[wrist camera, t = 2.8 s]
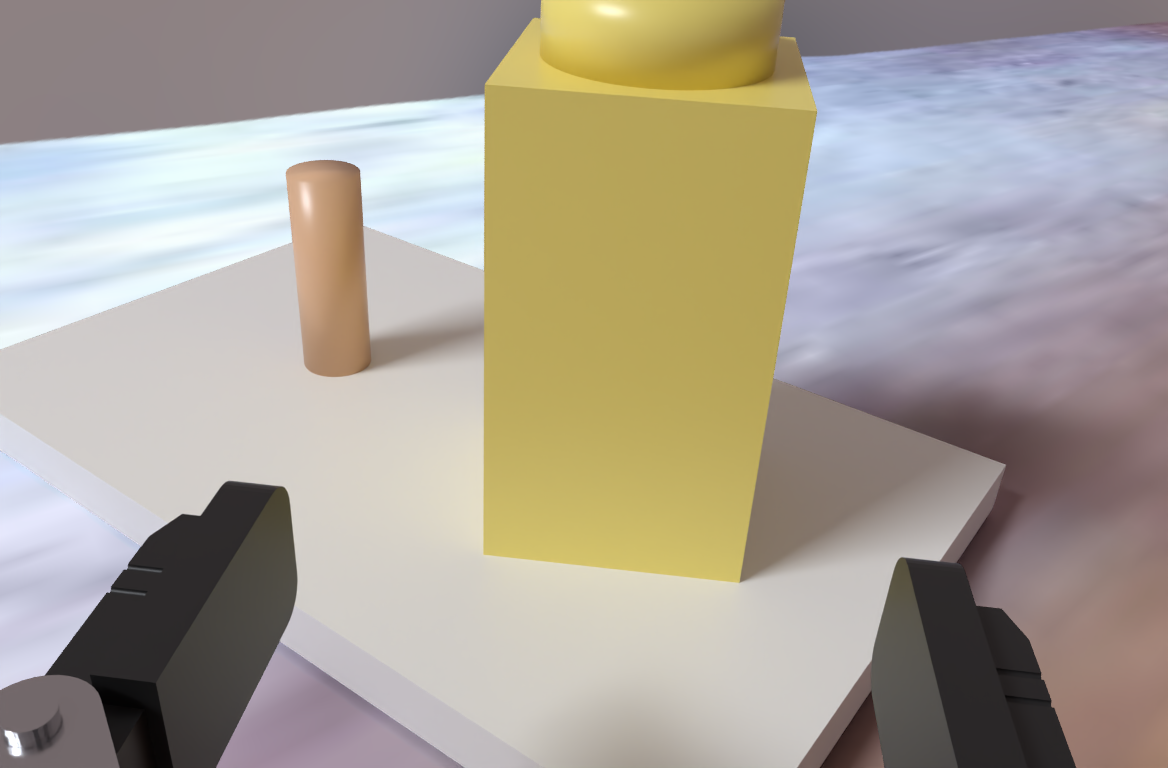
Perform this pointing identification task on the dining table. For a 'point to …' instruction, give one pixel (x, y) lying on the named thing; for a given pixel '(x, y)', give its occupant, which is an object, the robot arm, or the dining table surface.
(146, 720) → the robot arm
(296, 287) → the plate
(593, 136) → the tall yellow stud brick
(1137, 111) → the dining table surface
